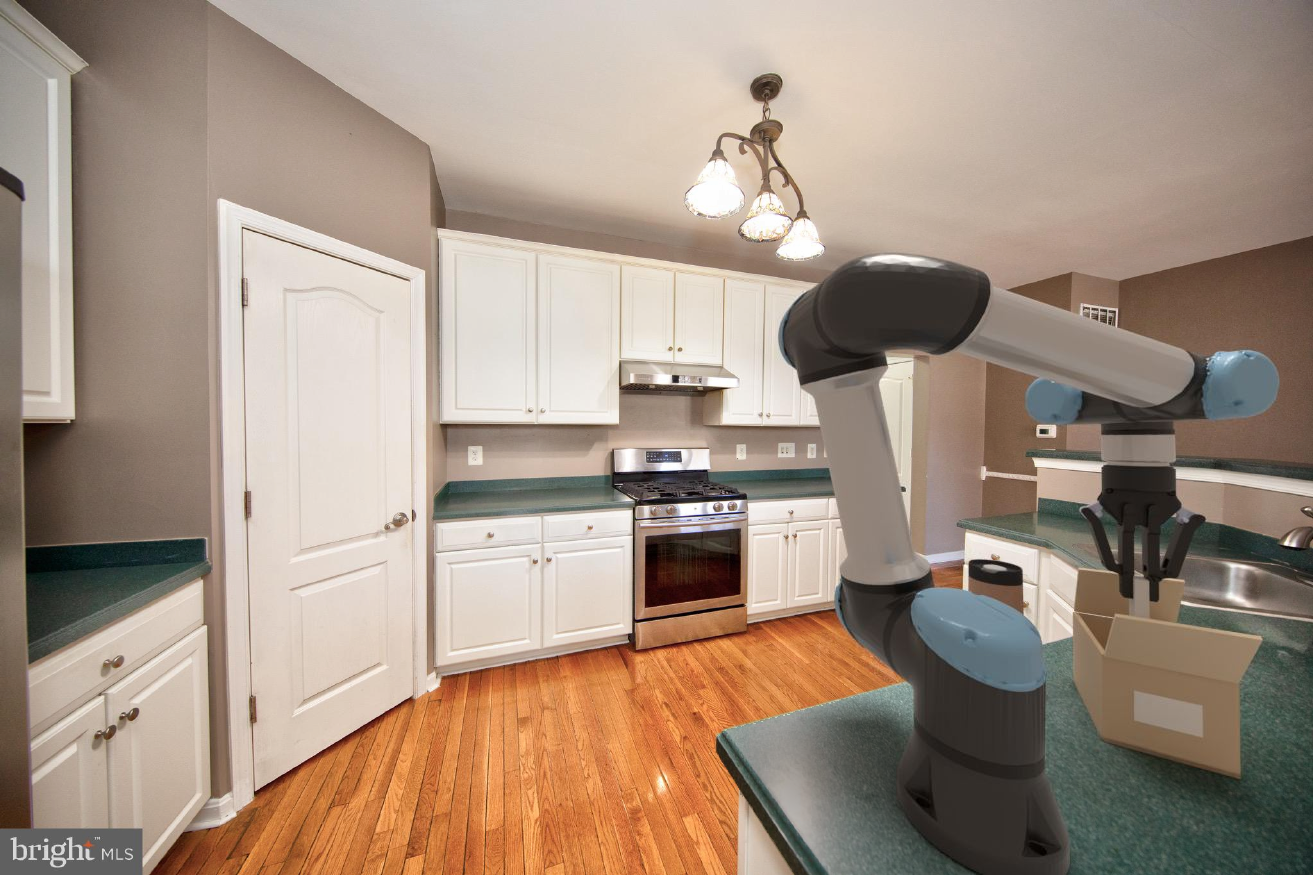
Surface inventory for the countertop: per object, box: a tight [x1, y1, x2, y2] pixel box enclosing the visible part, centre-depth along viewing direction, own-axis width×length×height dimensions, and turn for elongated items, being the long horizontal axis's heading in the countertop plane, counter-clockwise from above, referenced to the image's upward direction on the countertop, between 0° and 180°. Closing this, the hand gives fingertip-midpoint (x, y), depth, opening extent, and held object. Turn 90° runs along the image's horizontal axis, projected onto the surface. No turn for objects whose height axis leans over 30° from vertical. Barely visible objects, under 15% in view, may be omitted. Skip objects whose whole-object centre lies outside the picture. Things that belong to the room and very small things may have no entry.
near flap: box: [1104, 614, 1264, 685], centre depth 54 cm, size 9×12×1 cm
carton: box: [1072, 611, 1242, 780], centre depth 64 cm, size 18×12×12 cm, turn 145°
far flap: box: [1073, 567, 1186, 623], centre depth 70 cm, size 9×12×1 cm
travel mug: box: [967, 558, 1025, 616], centre depth 75 cm, size 8×8×20 cm
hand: (1139, 620), depth 65 cm, fingers closed
